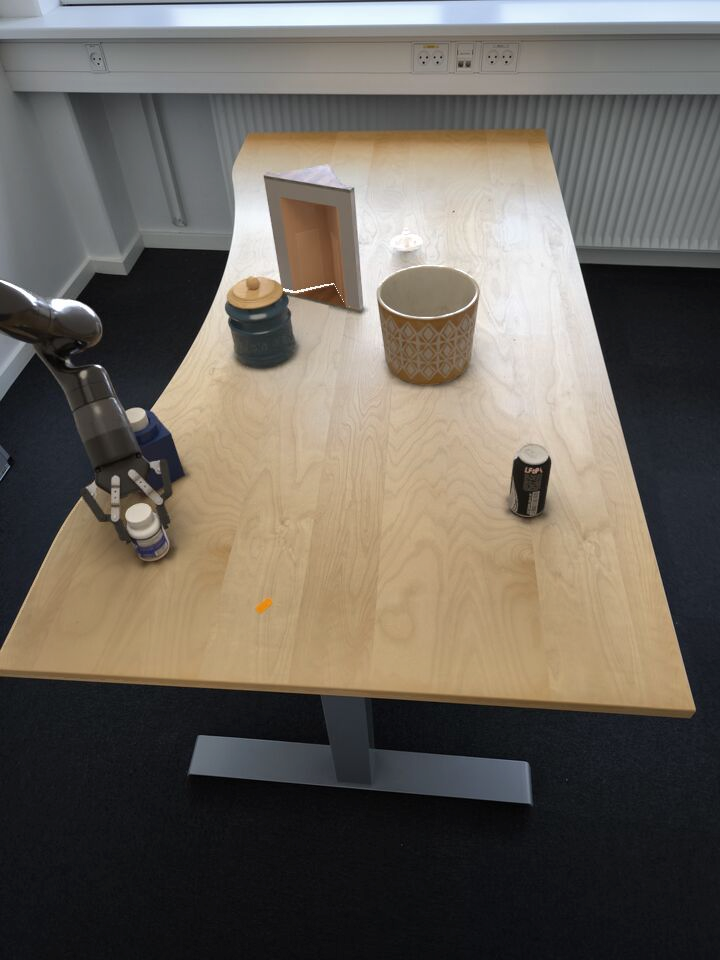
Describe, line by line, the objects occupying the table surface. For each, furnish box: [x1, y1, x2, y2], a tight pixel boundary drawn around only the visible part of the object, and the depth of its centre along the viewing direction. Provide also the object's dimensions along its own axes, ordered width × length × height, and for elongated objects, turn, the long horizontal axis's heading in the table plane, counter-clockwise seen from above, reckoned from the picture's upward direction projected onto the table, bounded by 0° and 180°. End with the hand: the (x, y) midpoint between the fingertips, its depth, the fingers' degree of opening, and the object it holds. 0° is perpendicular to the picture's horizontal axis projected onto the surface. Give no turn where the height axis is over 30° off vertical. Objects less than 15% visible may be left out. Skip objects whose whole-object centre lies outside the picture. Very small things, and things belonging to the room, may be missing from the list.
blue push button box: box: [134, 409, 186, 497], centre depth 127 cm, size 8×8×12 cm
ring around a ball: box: [389, 227, 423, 253], centre depth 182 cm, size 8×6×8 cm
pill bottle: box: [124, 502, 170, 562], centre depth 114 cm, size 5×5×9 cm
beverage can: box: [508, 442, 552, 518], centre depth 115 cm, size 6×6×12 cm
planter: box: [376, 264, 481, 386], centre depth 143 cm, size 19×19×16 cm
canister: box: [224, 275, 296, 369], centre depth 150 cm, size 13×13×18 cm
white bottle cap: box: [125, 407, 149, 432], centre depth 122 cm, size 4×4×2 cm
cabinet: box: [263, 163, 364, 314], centre depth 161 cm, size 21×10×28 cm, turn 61°
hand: (147, 535), depth 113 cm, fingers closed on pill bottle, 5 cm apart
